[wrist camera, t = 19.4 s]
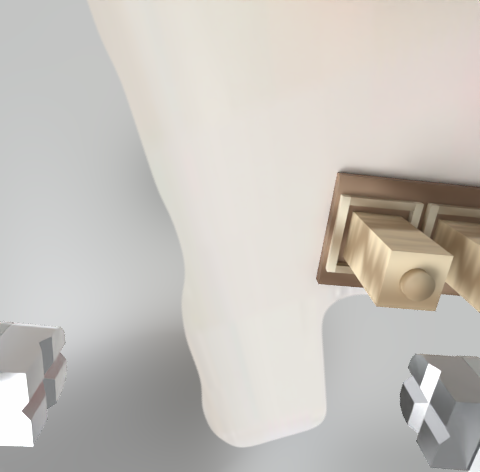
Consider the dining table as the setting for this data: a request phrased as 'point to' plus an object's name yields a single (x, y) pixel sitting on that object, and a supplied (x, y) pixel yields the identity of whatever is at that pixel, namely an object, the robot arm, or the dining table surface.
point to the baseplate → (415, 212)
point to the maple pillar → (396, 261)
